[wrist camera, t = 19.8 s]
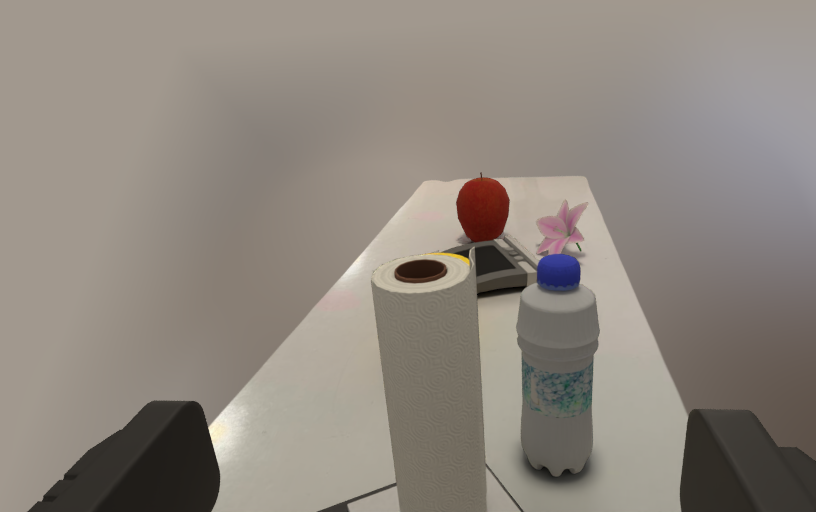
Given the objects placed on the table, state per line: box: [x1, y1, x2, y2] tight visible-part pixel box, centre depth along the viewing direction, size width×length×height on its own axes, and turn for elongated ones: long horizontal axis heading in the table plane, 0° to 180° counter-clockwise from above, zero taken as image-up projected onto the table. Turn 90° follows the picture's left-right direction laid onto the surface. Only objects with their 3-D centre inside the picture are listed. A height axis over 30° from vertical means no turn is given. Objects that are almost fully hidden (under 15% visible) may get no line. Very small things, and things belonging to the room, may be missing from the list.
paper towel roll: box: [371, 247, 487, 512], centre depth 36 cm, size 7×6×21 cm
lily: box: [536, 200, 588, 255], centre depth 95 cm, size 12×12×10 cm
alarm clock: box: [433, 235, 540, 293], centre depth 90 cm, size 17×5×16 cm
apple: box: [456, 173, 510, 242], centre depth 104 cm, size 10×10×14 cm
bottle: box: [516, 254, 600, 477], centre depth 46 cm, size 7×7×20 cm
